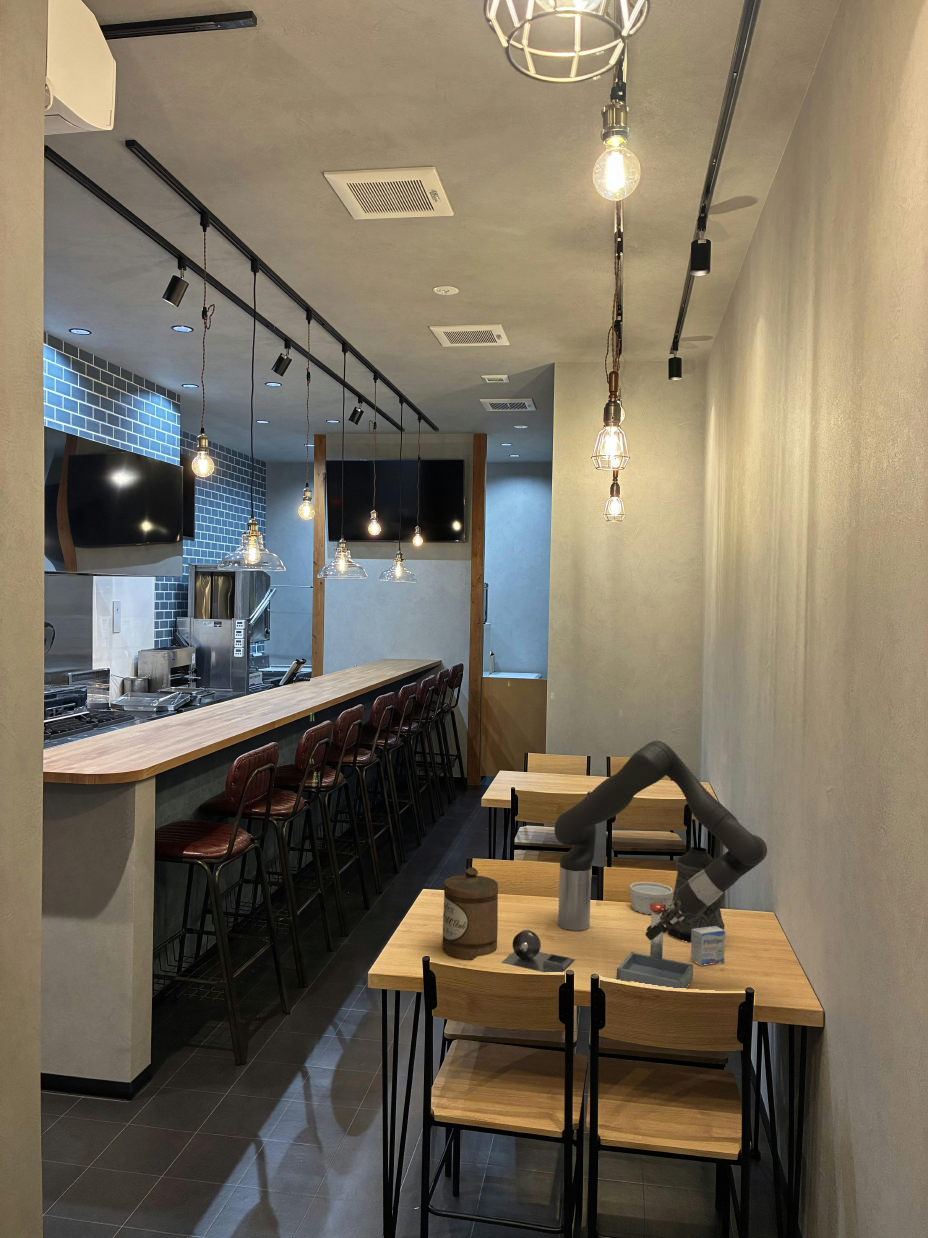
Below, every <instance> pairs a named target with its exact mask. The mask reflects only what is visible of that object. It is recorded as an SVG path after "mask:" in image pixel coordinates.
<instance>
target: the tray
mask: <svg viewBox="0 0 928 1238" xmlns="http://www.w3.org/2000/svg"><path fill="white" fill-rule="evenodd" d="M692 977H693V978H694V964H693V963H692V964H691V963H687V962H681V961H677V960H673V959H667V958H663V957H662V959H661V960H655V959H652V958H650V955H647V954H642V953H639V952H638V953H637V952H633V951H631V952H630V953H629V954H628V955H627V956H626V958H624V960H623V961H622V962H621V964H620V965H619V966H618V967H617V969H616V980H618V979H621V980H620V981H622V980H626V981H625V982H627V981H634V982H639V983H645V984H652V985H658V986H666V987H673V988H687V989H688V987H689V986H688V984H689V983H690V984H691V982H692V981H691V979H692ZM692 980H693V979H692ZM690 981H691V982H690ZM690 984H689V985H690ZM687 986H688V987H687Z"/></svg>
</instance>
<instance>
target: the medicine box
mask: <svg viewBox="0 0 928 1238" xmlns="http://www.w3.org/2000/svg"><path fill="white" fill-rule="evenodd" d="M725 943H726V931H725V929H724V930H723V929H721V928H719V927H717V926H710V927H703V928H695V929H691V943H690V961H691V960H693V961H694V962H693V961H692V962H693V963H695V962H697V963H698V964H700V965H704V964H710V963H718V964H720V963H719V962H723V963H725V951H726V950H725V947H726V945H725ZM697 963H696V964H697ZM698 964H697V965H698ZM700 965H699V966H700Z"/></svg>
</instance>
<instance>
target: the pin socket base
mask: <svg viewBox="0 0 928 1238" xmlns="http://www.w3.org/2000/svg"><path fill="white" fill-rule="evenodd" d="M541 946H542V945H541V940H540V937H539V936H538V935H537V934H536V932H534V931H532V930H530V929H523V930H521V931H519V932H518V933H517V934H516V935H515V936H514V938H513V940H512V949H513V952H512V953H510V955H508V956H507V957H506V958H504V960H502V961H501V964H506V965H510V966H514V967H518V968H523V969H528V970H532V971H537V972H541V973H545V972H563V973H564V972H565V971H566V970H567V969H569V967H570V966H572V964H573V963H575V961H576V959H575V958H574V959H573V958H571V957H568V956H562V955H560V954H554V953H547V952H541V948H542V947H541Z"/></svg>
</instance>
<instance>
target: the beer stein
mask: <svg viewBox="0 0 928 1238" xmlns="http://www.w3.org/2000/svg"><path fill="white" fill-rule="evenodd" d="M714 860H715V859H714V858H713V857H712V856H711V855H710V854H709V852H708V850H707V849H706V848H705V847H701V846H691V848H690V849H689V850H688V851H687V852H686V853H684V854H682V855H680V856H679V857H678V858H677V859H676V860H675V862H674V863H675V864H674V865H675V868H676V871H677V874H676V879H675V883H674V888H673V889H674V890H673V895H672V899H671V903H672V902H673V900H675V899H676V900H677V901H678V900H679V899H678V897H677V895H676V891H677V890H678V889H679V888H680V887H681V886H682V885H684V884H685V883H686V882H687V881H688V880H690V879H691V878H692V877H693V876H694V875H696V874H697V873H699V872H700V871H702V870H703V869H704V868H706V867H707V866H708V865H709V864H710V863H712V862H713V861H714ZM725 895H726V891H725V892H724V893H723V894H722V895H721V896H720V897H719V898H718V899H717V900H716V901H714V902H713V903H712V904H711V905H710V906H708V907H707V908H706V909H705V910H704V911H702V912H701V913H700V914H699V915H697V916H695V915H693V914H691V913H690V912H687V913H686V914H685V915H684V916H685V918H684V919H683V920H681V921H680V923H679V924H678V925H676V926H675V927H673V928H672V929H670V930H669V931H667V933H668V935H669V936H670V937H672V938H674V939H676V940H678V939H679V941H682V940H684V941H683V942H685V941H687V942H686V943H690V942H691V929H695V928H703V927H710V926H717V927H719V928H721V929H723V930H724V931H725V923H724V920H723V916H722V911H721V906H722V904H723V902H724V900H725Z"/></svg>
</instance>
